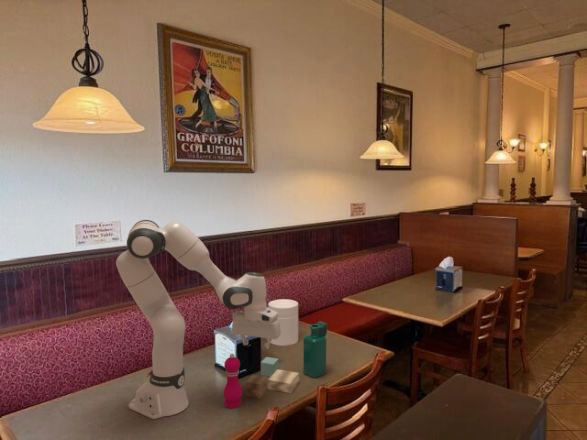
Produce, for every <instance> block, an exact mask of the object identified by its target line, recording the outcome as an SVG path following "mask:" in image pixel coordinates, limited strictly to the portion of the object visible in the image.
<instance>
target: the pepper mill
mask: <svg viewBox="0 0 587 440" xmlns="http://www.w3.org/2000/svg"><path fill="white" fill-rule="evenodd" d="M223 366H224V368H225V375H226V377H227V378H226V379H227V380H226V384H225V386H224V388H223V392H222V395H223V398H224V405H225V407H227V408H229V409H235V408H238V407H240V406H241V404H242V398H241V397H242V395H243V388H242V386H241V383H240V382H239V374H240V367H241V362H240V359H239V358H238V357H237V356H235V354H234V353H230V355H229V357H228V358H227V359H225V361H224V365H223Z"/></svg>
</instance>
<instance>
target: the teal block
mask: <svg viewBox="0 0 587 440" xmlns="http://www.w3.org/2000/svg"><path fill="white" fill-rule="evenodd" d="M279 363H280V362H279V358H276V357H269V356H266V357H264V358H263V360H261V361H260V376H263V375H264V376H263V377H268V376H269V378H270V377H271V376H272V375H273V374H274V373H275V371H276V370H277V369H279V370H280V368H279V367H280V366H279Z"/></svg>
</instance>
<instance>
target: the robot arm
mask: <svg viewBox="0 0 587 440" xmlns="http://www.w3.org/2000/svg"><path fill="white" fill-rule="evenodd" d="M126 248H127V249H126V250H125V251H123V252H122V253H120V254H119V255H118V257H117V259H116V260H115V265H116V268H117V271H118V273H119V276H120V278H121V280H122V281H123V284H124V286H125V288H127V290H128V292H129V293H130V295H131V296H132V298H133V300H134V301H135V303H136V305H137V306H138V307H139V309H140V311H141V312H142V314H143V315H144V317H145V318H146V320H147V322H148V323H149V325H150V327H151V329H152V334H153V342H152V343H153V345H152V351H151V352H152V353H151V354H152V355H151V357H152V359H151V360H152V369H151V371H150V372H148V373H146V375H147V376H146V377H147V378H148V377H149V379H147V381H145V382H144V383H143V384H141V385H140V386H139V388H138V389H136V392H135V397H134V398H133V399H132V400H131V401H130V402H129V404H128V408H129V410H132V411H134V412H136V413H138V414H141V415H143V416H145V417H147V418H149V419H152V420H157V419H161V418H164V417H168V416H169V417H171V416H173V415H177V414H180V413H181V412H183V411H185V410H186V409H187V408H188V406H189V403H190V401H189V399H188V395H187V391H186V386H185V378H186V377H185V376H186V375H185V367H184V353H183V351H184V341H185V332H186V321H185V318H184V316H183V315H182V314H181V313H180V311H179V309H178V308H177V307H176V305H175V304H174V302H173V300H172V298H171V297H170V294H169V292H168V291H167V290H166V287H165V286H164V284H163V282H162V279H160V277H159V275H158V273H157V272H156V271H155V269H154V267H153V265H152V263H151V261H150V259H149V258H152V257H154V256H155V255H157V254H159V253H162V252H163V251H167V253H169V254H171V256H172V257H173V258H174V259H175V260H176V261H177V262H178V263H179V264H181V265H182V266H184V268H186V269H188V270H190V271H195V272H197V273H199V274H200V275H202V277H204V279H205V280H207V282H209V283H210V284H211V286H212V287H213V289H214V293H215V296H216V297H217V298H218V299H219V300H220V301H221V302H222V304H223V305H224V306H225V307H226V308H228V309H230V310H235V311H234V312H233V313H232V325H231V331H232V333H233V334H235V335H239V336H240V339H241V340H242V344H243V346H248V345H249V339H247V337H246V336H249V337H254V338H255V337H256V338H261V339H262V338H263V339H266V341H267V342H265V343H264V344H263V345H264V346H263V347H264V349H267V350H269V349H270V344H271V343H270V342H271V340H272V339H277V338H278V337H279V336H280V335H281V329H280V322H279V320H278V319H277V317H278V312H276V311H274V310H272V309H270V308H268V305H267V300H266V298H267V284H266V278H265V277H264V275H263V274H261V273H259V272H253V271H249V272H245V274H244V275H243V276H241V277H240V278H238V279H236V278H234V277H231V276H228V275H227V274H224V272H222V270H220V268H218V266H217V265H215V263H213V261H212V260H211V258H210V252H209V249H208V248H207V246H206V245H205V243H203V241H202V240H201V239H200V238H199V237H198V236H197V234H195V233H194V232H193V231H192V230H191V229H189V228H188V227H187V226H186V225H184V224H183V223H182V222H179V221H171V222H168V223H167V224H166V225H165V226H163V227H160V226H159V225H158V224H157V223H156V222H155V221H153V220H150V219H141V220H140V221H137V222H136V223H134V224H133V225H132V227H131V229H130V231H129V232H128V235H127V239H126ZM242 308H243V309H244V310H238V309H242Z"/></svg>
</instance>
